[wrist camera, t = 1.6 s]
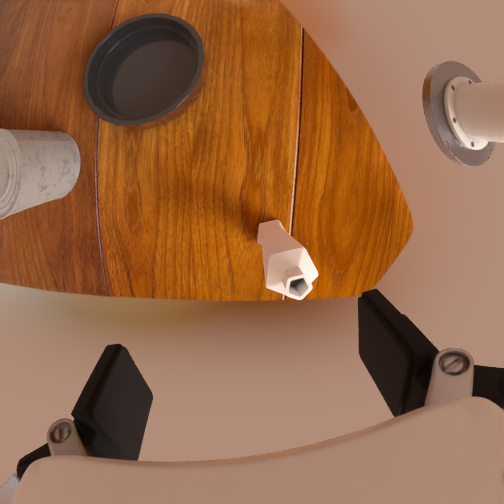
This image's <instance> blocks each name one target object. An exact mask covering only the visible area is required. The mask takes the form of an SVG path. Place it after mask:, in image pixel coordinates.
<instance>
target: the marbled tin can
mask: <svg viewBox="0 0 504 504" xmlns="http://www.w3.org/2000/svg"><path fill="white" fill-rule="evenodd" d="M80 163H81V161H80V153H79V149H78V146H77V144H76V142H75V141H74V139H73V138H72V137H71V136H70V135H68V134H67V133H65V132H61V131H54V132H53V131H38V130H11V129H3V128H2V129H0V219H4V218H5V217H7V216H9V215H12V214H14V213H17V212H20V211H22V210H25V209H28V208H31V207H34V206H37V205H40V204H42V203H46V202H49V201H52V200H56V199H60V198H62V197H64V196H66V195H67V194H68V193H69V192H70V191H71V190H72V188H73V187H74V185H75V183H76V181H77V179H78V175H79V172H80Z"/></svg>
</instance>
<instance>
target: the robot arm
mask: <svg viewBox="0 0 504 504" xmlns="http://www.w3.org/2000/svg"><path fill="white" fill-rule="evenodd" d="M444 107H445V112H446V117H447V120H448V123H449V125H450V128H451V130H452V132H453V133H454V135H455V137H456V138H457V139H458V140H459V142H460V143H461V144H462V145H464V146H465V147H467V148H469V149H472V150H479V149H482V148H484V147H485V146H486V145H487V144H488V142H489V141H491V142H504V79H502V80H493V81H486V82H479V83H475V82H473V81H472V80H471V79H469V78H467V77H463V76H460V77H455V78H453V79H451V80H450V81H449V82H448V84H447V86H446V88H445V93H444ZM358 323H359V354H360V357H361V359H362V361H363V363H364V364H365V366H366V368H367V370H368V372H369V373H370V375H371V376H372V379H373V380H374V382H375V384H376V385H377V387H378V389H379V391H380V392H381V394H382V396H383V398H384V400H385V401H386V403H387V405H388V407H389V408H390V411H391V412H392V414H393V416H394V417H395V418H392V419H390V420H387V421H385V422H382V423H379V424H376V425H374V426H371V427H368V428H365V429H362V430H359V431H356V432H353V433H350V434H346V435H343V436H340V437H336V438H333V439H329V440H326V441H323V442H318V443H315V444H311V445H307V446H302V447H298V448H293V449H289V450H283V451H278V452H273V453H267V454H261V455H254V456H248V457H240V458H231V459H220V460H208V461H186V462H152V461H137V460H138V458H139V453H140V449H141V444H142V440H143V436H144V432H145V428H146V423H147V420H148V416H149V411H150V408H151V404H152V400H153V395H152V392H151V390H150V388H149V387H148V385H147V383H146V382H145V380H144V378H143V377H142V375H141V373H140V372H139V370H138V368H137V366H136V365H135V363H134V361H133V359H132V357H131V356H130V354H129V352H128V350H127V349H126V348H125V347H123V346H122V345H121V344H113V345H107V347H106V348H105V350H104V352H103V353H102V355H101V357H100V359H99V361H98V363H97V364H96V366H95V368H94V370H93V372H92V374H91V375H90V377H89V379H88V381H87V383H86V385H85V387H84V389H83V391H82V393H81V395H80V397H79V399H78V401H77V403H76V405H75V407H74V409H73V411H72V413H71V415H72V416H73V417H74V418H75V419H74V421H71V420H70V419H66V418H65V419H60V420H57V421H56V422H54V423H53V424H52V425H51V426H50V428H49V430H48V432H47V441H48V443H47V444H45V445H43V446H41V447H40V448H38V449H36V450H35V451H33V452H31V453H29V454H28V455H26V456H24V457H23V458H21V459H20V460H19V462H18V465H17V475H16V474H15V473H14V474H13V475H12V476H11V477H10V478H9V479H8V480H7V481H6V482H5V483H4V484H3V485H2V486H1V487H0V504H504V368H496V367H487V366H479V365H474V362H473V358H472V356H471V355H470V354H469V353H468V352H467V351H465V350H463V349H460V348H447V349H444V350H442V351H440V352H439V351H438V350H437V348H436V347H435V346H434V345H433V344H432V343H431V342H430V341H429V340H428V339H427V338H426V337H425V336H424V334H423V333H422V332H421V331H420V330H419V329H418V328H417V327H416V326H415V325H414V324H413V323H412V322H411V321H410V320H409V319H408V317H406V316H405V315H403V314H401V313H400V312H399V311H398V310H397V309H396V308H395V307H394V306H393V305H392V304H391V303H390V302H389V301H388V300H387V299H386V298H385V297H384V296H383V295H382V294H381V293H380V292H379V291H378V290H377V289H373V290H369V291H366V292H363V293H362V295H361V297H359V298H358Z"/></svg>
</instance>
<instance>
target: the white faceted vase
mask: <svg viewBox="0 0 504 504" xmlns="http://www.w3.org/2000/svg"><path fill="white" fill-rule="evenodd" d="M257 243H258V244H260V245H261V246H262V255H263V263H264V272H265V281H266V287H267V288H268V289H271V290H273V291H276V292H279V293H282V294H285V295H286V296H288V297H291V298H294V299H297V300H302V299H303V298H304V297H305V296H306V295H307V294H308V293H309V292H310V291H311V290H312V288H313V287H312V284H311V282H312V281H313V280H314V279H315V278H316V277H317V276H318V271H317V269H316V268H315V266H314V264H313V262H312V260H311V258H310V256H309V255H308V253H307V251H306V249H305V248H304V247H303V246H302V245H301V244H300V243H298V242H297V241H296V240H295V239H294V238H293V237H292V236H291V235H289V234H288V233H287V232H286V231H285V229H284V227H283V226H282V224H281V222H280V221H279V220H278V219H277V220H272V221H268V222H264V223H260V224H259V228H258V238H257Z"/></svg>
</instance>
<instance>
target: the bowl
mask: <svg viewBox="0 0 504 504" xmlns="http://www.w3.org/2000/svg"><path fill="white" fill-rule="evenodd" d="M206 73H207V61H206V55H205V50H204V46H203V42H202V39H201V38H200V36H199V35H198V33H197V32H196V30H195V29H194V27H193V26H191V25H190V24H188V23H187V22H185V21H184V20H182V19H181V18H179V17H175V16H171V15H167V14H146V15H142V16H139V17H136V18H133V19H130V20H127V21H125V22H123V23H122V24H120V25H119V26H117V27H115V28H114V29H112V30H111V31H110V32H109V33H108V34H107V35H106V36H105V37H104V38H103V39H102V40H101V41H100V42H99V43H98V44H97V45H96V47H95V49H94V50H93V52H92V54H91V56H90V57H89V59H88V62H87V65H86V69H85V73H84V77H83V83H84V95H85V97H86V99H87V102H88V104H89V106H90V108H91V110H93V111H94V112H95V113H96V114H97V115H98V116H99V117H100V118H101V119H103V120H105V121H107V122H110V123H113V124H116V125H118V126H122V127H126V128H131V129H149V128H153V127H156V126H160V125H164V124H166V123H168V122H170V121H171V120H173V119H175V118H176V117H178V116H180V115H181V114H183V113H184V112H185V110H186V109H187V108H188V107H189V106H190V105H191V104H192V103H193V102H194V101H195V100H196V99H197V97H198V95H199V93H200V91H201V90H202V88H203V86H204V84H205V79H206Z"/></svg>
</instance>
